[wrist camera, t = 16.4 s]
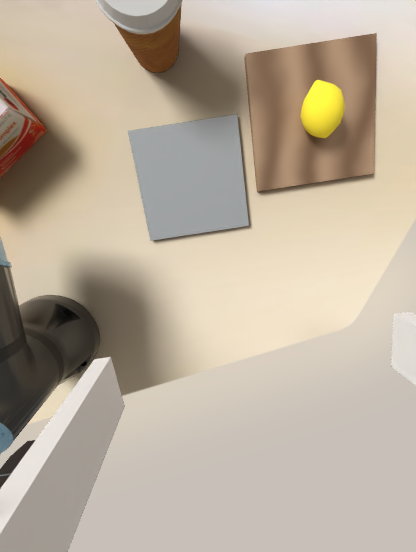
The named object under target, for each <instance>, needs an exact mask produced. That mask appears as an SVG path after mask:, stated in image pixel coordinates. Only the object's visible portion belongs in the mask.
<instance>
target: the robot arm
mask: <svg viewBox="0 0 416 552" xmlns="http://www.w3.org/2000/svg"><path fill="white" fill-rule="evenodd" d="M10 267H12V266H11V263H10V262H8V260H7V257H6V253H5V250H4V247H3V243H2V240H1V238H0V454H1V453H2V452H3V451H5V450H6V449H7V448H9V447H10V445H11V444H12V443H13V441H14V439H15V438H16V437H17V436H18V435H19V433H20V432H21V431H22V429H23V428H24V427H25V426H26V425H27V423H28V422H29V421H30V420H31V418H32V417H33V416H34V415H35V413H36V412H37V411H38V410H39V408H40V407H41V406H42V405H43V403H44V402H45V401H46V400H47V398H48V397H49V396H50V395H51V393H52V392H53V391H54V389H55V388H56V387H57V386H58V385H59V384H61V383H63V382H65V381H66V380H68V379H70V378H71V377H73V376H75V375H77V374H78V373H80V372H81V371H82V370H84V369H85V368H86V367H87V366H88V364H89V363H90V362H91V360H92V359H93V358H94V356H95V355H96V353H97V350H98V347H99V341H100V337H99V330H98V327H97V324H96V322H95V320H94V319H93V317H92V316H91V314H90V313H89V312H88V311H87V310H86V309H85V308H84V307H82V306H81V305H80V304H78V303H77V302H75V301H73V300H71V299H68V298H65V297H62V296H56V295H44V296H39V297H36V298H33V299H31V300H29V301H27V302H25V303H23V304H21V305H20V306H19V305H18V300H17V296H16V291H15V287H14V282H13V278H12V274H11V269H10ZM391 367H393V368H394V369H395V370H396V371H398V372H399V373H400V374H401V375H403V376H404V377H405V378H406V379H408V380H409V381H410V382H411V383H413V384H414V385H415V386H416V314H414V313H412V312H405V313H399V314H394V316H393V339H392V362H391ZM124 407H125V406H124V402H123V398H122V395H121V391H120V388H119V384H118V381H117V377H116V373H115V370H114V366H113V363H112V359H111V357H106V358H99V359H94V361H93V362H92V363H91V365H90V366H89V367H88V369H87V370H86V372H85V373H84V374H83V376H82V377H81V378H80V380H79V381H78V383H77V384H76V385H75V387H74V388H73V390H72V391H71V392H70V394H69V395H68V396H67V398H66V399H65V401H64V402H63V403H62V405H61V406H60V407H59V409H58V410H57V412H56V413H55V414H54V416H53V417H52V418H51V420H50V421H49V423H48V424H47V425H46V427H45V428H44V429H43V431H42V432H41V434H40V435H39V436H38V438H37V439H36V440H33V441H27V442H26V443H25V444H24V445H23V446H22V447H20V448H19V449H18V450H17V451H16V452H15V453H14V454H13V455H11V456H10V458H9V459H8V460H7V461H6V463H5V464H4V465H3V466H2V468H1V469H0V552H68V549H69V547H70V544H71V542H72V539H73V536H74V534H75V532H76V529H77V526H78V524H79V521H80V519H81V516H82V514H83V511H84V509H85V506H86V504H87V501H88V498H89V496H90V493H91V491H92V488H93V486H94V483H95V481H96V478H97V475H98V473H99V470H100V468H101V465H102V463H103V460H104V458H105V455H106V453H107V450H108V447H109V445H110V442H111V440H112V437H113V435H114V432H115V430H116V427H117V425H118V422H119V419H120V417H121V414H122V412H123V409H124Z"/></svg>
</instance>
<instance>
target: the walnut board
mask: <svg viewBox="0 0 416 552" xmlns="http://www.w3.org/2000/svg"><path fill="white" fill-rule="evenodd" d="M376 36H377V33H375V34H369V35H362V36H356V37H349V38H343V39H337V40H330V41H324V42H318V43H311V44H305V45H299V46H292V47H286V48H279V49H273V50H267V51H260V52H254V53H248V54H246V55H245V69H246V79H247V90H248V101H249V111H250V122H251V133H252V143H253V154H254V165H255V176H256V186H257V192H259V191H265V190H272V189H278V188H285V187H291V186H298V185H304V184H311V183H317V182H324V181H330V180H337V179H343V178H350V177H356V176H363V175H369V174H374V141H375V89H376ZM316 80H321V81H325V82H329V83H332V84H334V85H336V86H337V87H338V88H340V89H341V91H342V95H343V98H344V103H345V109H344V115H343V117H342V120H341V122H340V124H339V125H338V126H337V128H336V129H335V130H334V131H333V132H332V133H331V134H330V135H329V136H328V137H327V138H319V137H315V136H313V135H310V134H309V133H308V132H307V131H306V130H305V128H304V126H303V124H302V121H301V116H300V115H301V109H302V105H303V102H304V99H305V97H306V95H307V94H308V92H309V90H310V89H311V87H312V85H313V84H314V82H315V81H316Z"/></svg>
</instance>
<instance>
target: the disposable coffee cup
mask: <svg viewBox="0 0 416 552" xmlns="http://www.w3.org/2000/svg"><path fill="white" fill-rule="evenodd" d="M95 1H96V3H97V4H98V6H99V8H100V9H101V10H102V12H103V13H104V14H105V15H106V16H107V17H108V19H110V20H111V21H112V22H113V23H114V24H115V26H116V27H117V29H118V31H119V32H120V34H121V35H122V37H123V38H124V40H125V42H126V43H127V44H128V46H129V48H130V49H131V51H132V52H133V54H134V55H135V57H136V58H137V60H138V62H139V63H140V64H141V66H143V67H144V68H145V69H147V70H149V71H151V72H164V71H166V70H168V69H169V68H170V67H171V66H172V65H173V64H174V63H175V61H176V59H177V56H178V51H179V34H180V19H181V3H182V0H95Z"/></svg>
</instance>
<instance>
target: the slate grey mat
mask: <svg viewBox="0 0 416 552" xmlns="http://www.w3.org/2000/svg"><path fill="white" fill-rule="evenodd" d="M128 134H129V139H130V143H131V148H132V153H133V158H134V163H135V168H136V173H137V177H138V182H139V187H140V192H141V197H142V202H143V207H144V211H145V216H146V221H147V226H148V231H149V236H150V241H152V240H158V239H165V238H171V237H178V236H184V235H191V234H198V233H204V232H211V231H217V230H224V229H230V228H237V227H243V226H249V222H248V213H247V203H246V194H245V184H244V175H243V165H242V155H241V146H240V136H239V127H238V117H237V114H234V115H228V116H221V117H215V118H208V119H202V120H196V121H189V122H183V123H176V124H170V125H163V126H157V127H151V128H144V129H138V130H131V131H128Z"/></svg>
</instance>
